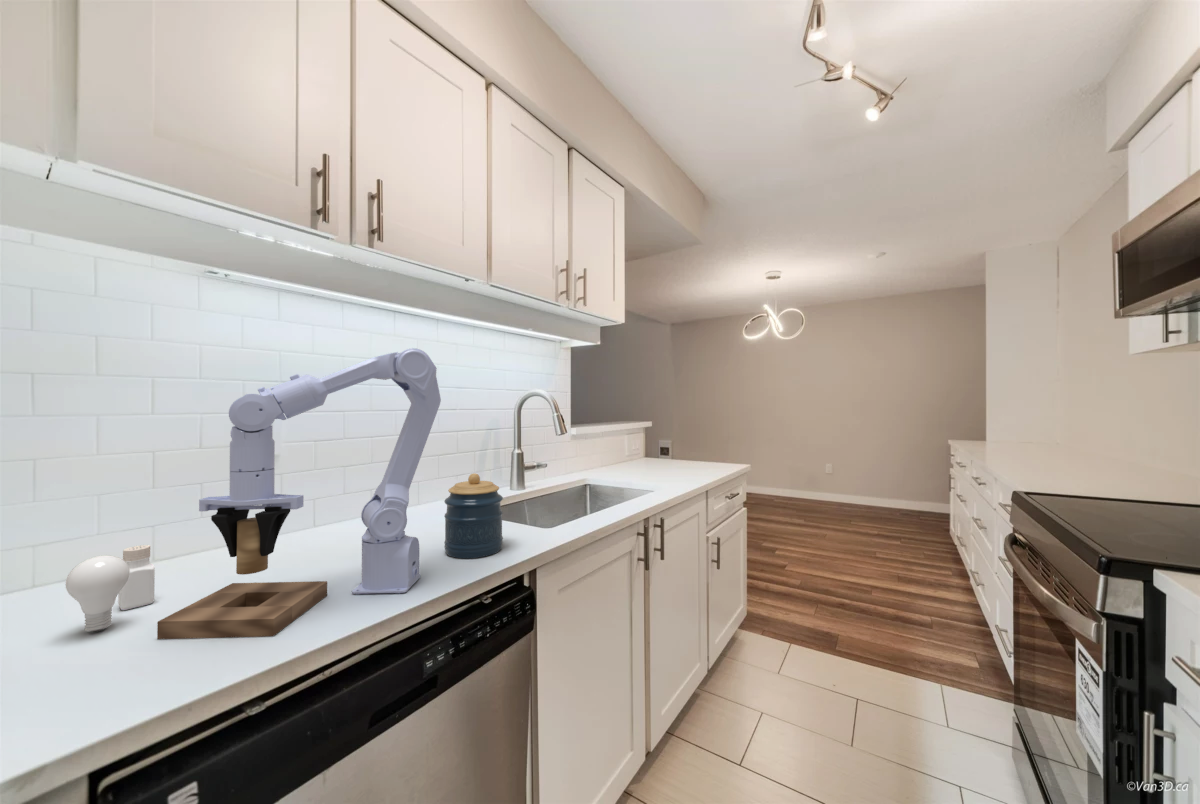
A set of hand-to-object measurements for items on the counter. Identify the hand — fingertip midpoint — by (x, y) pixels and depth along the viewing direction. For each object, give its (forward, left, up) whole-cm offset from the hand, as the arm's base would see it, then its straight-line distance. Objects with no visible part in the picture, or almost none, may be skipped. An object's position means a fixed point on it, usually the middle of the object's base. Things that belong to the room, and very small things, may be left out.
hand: (252, 554), depth 72 cm
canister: (-28, -30, -10) cm, 43 cm away
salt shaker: (+22, -4, -10) cm, 24 cm away
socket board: (0, +1, -9) cm, 9 cm away
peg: (0, 0, -2) cm, 3 cm away
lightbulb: (+19, +5, -10) cm, 22 cm away
